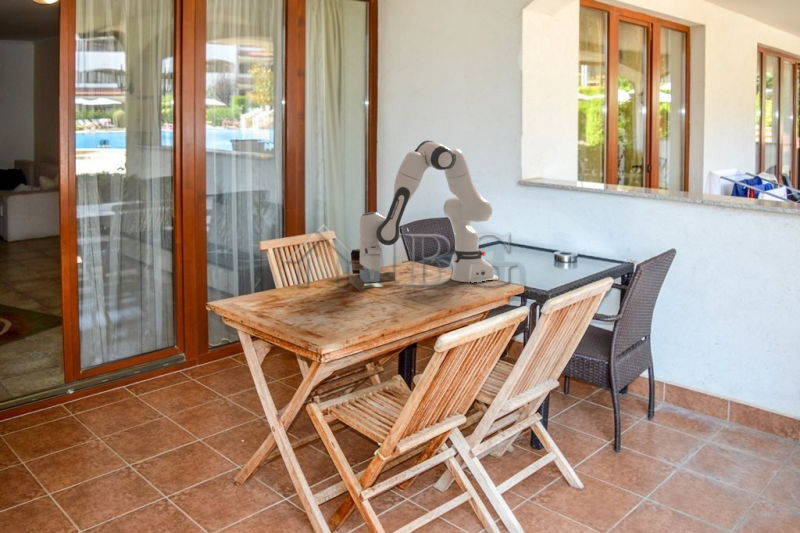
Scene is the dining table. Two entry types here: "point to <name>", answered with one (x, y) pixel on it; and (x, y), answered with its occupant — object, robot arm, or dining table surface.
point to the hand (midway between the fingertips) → (369, 277)
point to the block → (365, 276)
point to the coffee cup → (356, 261)
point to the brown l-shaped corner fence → (360, 285)
